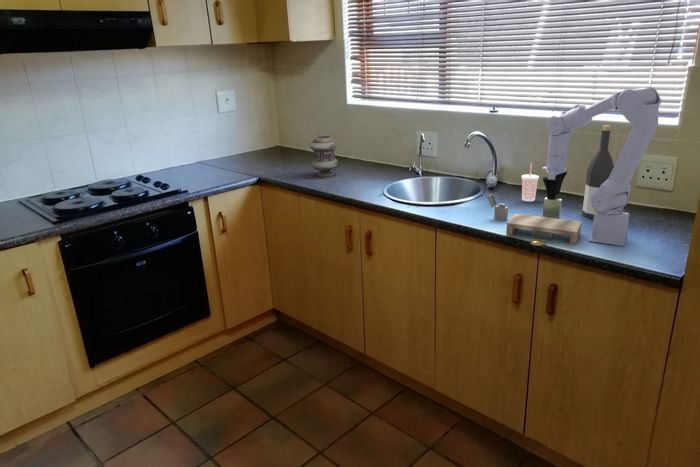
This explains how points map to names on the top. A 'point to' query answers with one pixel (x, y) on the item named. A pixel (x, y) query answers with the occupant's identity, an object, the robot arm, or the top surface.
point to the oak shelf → (545, 225)
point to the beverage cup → (529, 186)
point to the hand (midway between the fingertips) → (553, 196)
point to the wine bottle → (597, 172)
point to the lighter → (498, 208)
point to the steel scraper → (549, 214)
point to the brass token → (537, 242)
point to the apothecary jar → (324, 156)
